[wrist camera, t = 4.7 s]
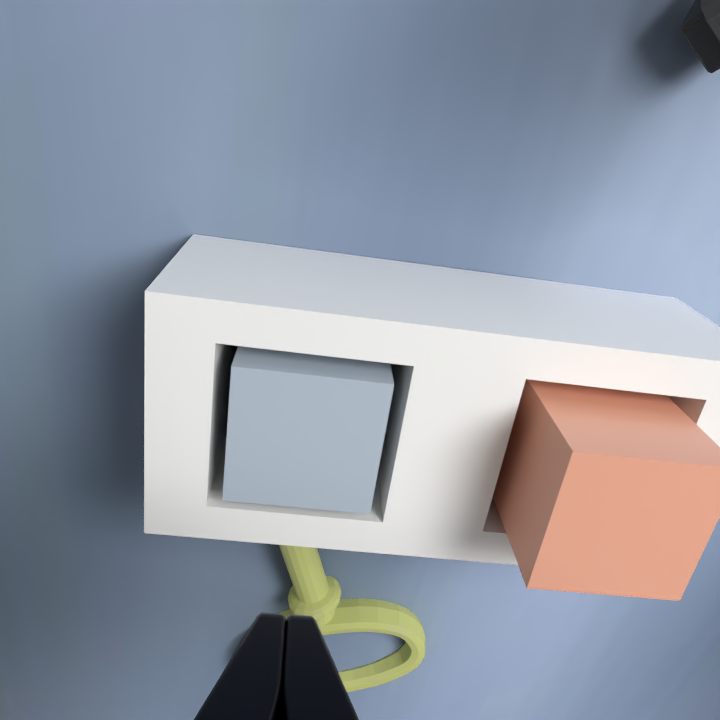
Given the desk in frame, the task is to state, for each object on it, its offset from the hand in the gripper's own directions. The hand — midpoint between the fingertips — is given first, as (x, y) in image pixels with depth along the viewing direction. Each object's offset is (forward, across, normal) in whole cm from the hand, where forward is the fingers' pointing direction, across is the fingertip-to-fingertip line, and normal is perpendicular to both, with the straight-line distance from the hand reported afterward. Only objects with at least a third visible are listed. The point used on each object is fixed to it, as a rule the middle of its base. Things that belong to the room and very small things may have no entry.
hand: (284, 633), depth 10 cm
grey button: (+10, 0, 0) cm, 10 cm away
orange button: (+8, -7, 0) cm, 11 cm away
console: (+11, -4, 0) cm, 11 cm away
